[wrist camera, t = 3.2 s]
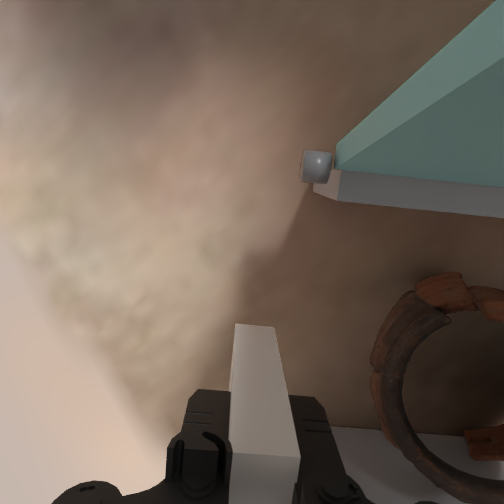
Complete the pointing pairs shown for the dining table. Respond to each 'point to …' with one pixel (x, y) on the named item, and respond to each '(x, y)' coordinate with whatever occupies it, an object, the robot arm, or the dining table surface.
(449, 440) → the channel
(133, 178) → the dining table surface
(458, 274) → the brown ring with stub
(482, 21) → the cover
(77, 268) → the dining table surface
